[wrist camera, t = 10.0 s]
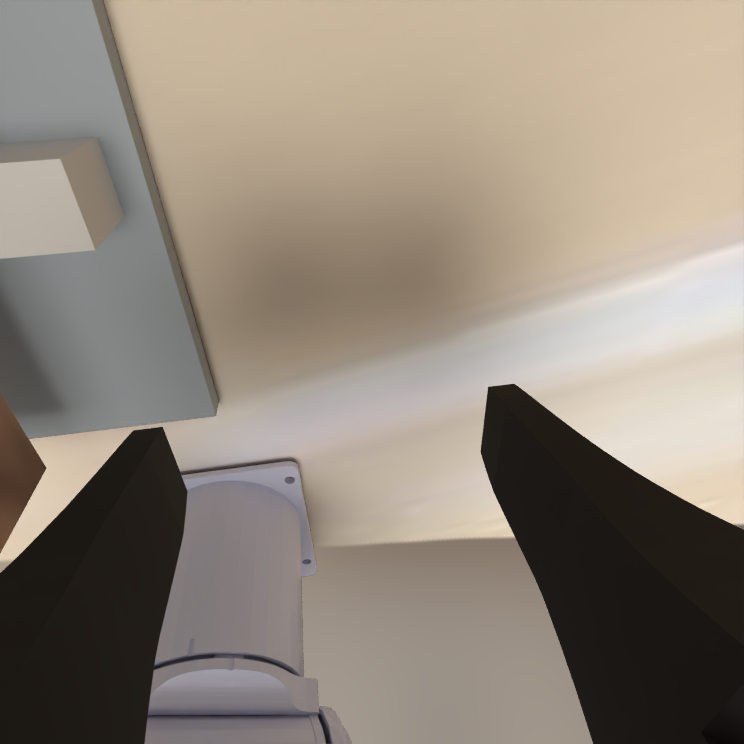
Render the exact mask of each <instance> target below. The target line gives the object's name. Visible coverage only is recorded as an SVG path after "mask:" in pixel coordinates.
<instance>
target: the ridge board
mask: <svg viewBox="0 0 744 744" xmlns="http://www.w3.org/2000/svg"><path fill="white" fill-rule="evenodd" d="M0 393H1V395H2V396H3V398H4V400H5V401H6V403H7V405H8V406H9V408H10V409H11V411H12V413H13V414H14V416H15V418H16V419H17V421H18V423H19V424H20V426H21V427H22V429H23V431H24V432H25V434H26V436H27V437H28V439H32V438H41V437H49V436H57V435H65V434H73V433H81V432H90V431H98V430H106V429H114V428H122V427H131V426H139V425H147V424H155V423H163V422H172V421H180V420H188V419H196V418H204V417H213V416H216V413H217V408H218V402H219V401H218V398H217V395H216V391H215V388H214V384H213V381H212V377H211V374H210V370H209V367H208V363H207V360H206V356H205V353H204V350H203V346H202V343H201V339H200V336H199V332H198V329H197V325H196V322H195V318H194V315H193V311H192V308H191V304H190V301H189V298H188V294H187V291H186V287H185V284H184V280H183V277H182V273H181V270H180V266H179V263H178V259H177V256H176V253H175V249H174V246H173V242H172V239H171V235H170V232H169V228H168V225H167V221H166V218H165V214H164V211H163V208H162V204H161V201H160V197H159V194H158V190H157V187H156V183H155V180H154V176H153V173H152V169H151V166H150V162H149V159H148V156H147V152H146V149H145V145H144V142H143V138H142V135H141V131H140V128H139V124H138V121H137V117H136V114H135V111H134V107H133V104H132V100H131V97H130V93H129V90H128V86H127V83H126V79H125V76H124V72H123V69H122V66H121V62H120V59H119V55H118V52H117V48H116V45H115V41H114V38H113V34H112V31H111V27H110V24H109V20H108V17H107V14H106V10H105V7H104V3H103V0H0Z"/></svg>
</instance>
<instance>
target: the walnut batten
mask: <svg viewBox="0 0 744 744" xmlns="http://www.w3.org/2000/svg"><path fill="white" fill-rule="evenodd" d="M45 470H46V467H45V465H44V463H43V462H42V460H41V458H40V457H39V455H38V454H37V452H36V450H35V449H34V447H33V445H32V444H31V442H30V441H29V439H28V437H27V436H26V434H25V432H24V431H23V429H22V427H21V426H20V424H19V423H18V421H17V419H16V418H15V416H14V414H13V413H12V411H11V409H10V408H9V406H8V405H7V403H6V401H5V400H4V398H3V396H2V395H1V393H0V553H1V551H2V549H3V547H4V545H5V543H6V542H7V540H8V538H9V536H10V534H11V532H12V531H13V529H14V527H15V525H16V523H17V521H18V520H19V518H20V516H21V514H22V512H23V510H24V508H25V507H26V505H27V503H28V501H29V499H30V497H31V496H32V494H33V492H34V490H35V488H36V486H37V484H38V483H39V481H40V479H41V477H42V475H43V473H44V472H45Z"/></svg>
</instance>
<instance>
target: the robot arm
mask: <svg viewBox="0 0 744 744" xmlns="http://www.w3.org/2000/svg"><path fill="white" fill-rule="evenodd" d="M481 455H482V458H483V461H484V464H485V468H486V471H487V474H488V477H489V480H490V483H491V485H492V488H493V491H494V493H495V496H496V498H497V500H498V502H499V504H500V506H501V508H502V511H503V513H504V515H505V517H506V519H507V521H508V523H509V525H510V527H511V529H512V531H513V534H514V536H515V538H516V540H517V542H518V544H519V546H520V548H521V550H522V552H523V554H524V556H525V558H526V561H527V563H528V565H529V567H530V569H531V571H532V573H533V575H534V577H535V579H536V582H537V584H538V586H539V589H540V591H541V593H542V595H543V598H544V601H545V603H546V606H547V609H548V611H549V614H550V617H551V620H552V623H553V625H554V628H555V631H556V633H557V636H558V639H559V642H560V644H561V647H562V650H563V653H564V656H565V659H566V662H567V665H568V668H569V671H570V673H571V676H572V679H573V682H574V685H575V688H576V691H577V694H578V698H579V700H580V704H581V707H582V710H583V713H584V716H585V719H586V722H587V726H588V729H589V732H590V735H591V738H592V741H593V744H744V530H743V529H741V528H739V527H737V526H735V525H733V524H731V523H729V522H726V521H724V520H722V519H720V518H718V517H716V516H714V515H712V514H710V513H708V512H706V511H704V510H702V509H700V508H698V507H696V506H695V505H693V504H691V503H689V502H687V501H685V500H683V499H681V498H680V497H678V496H676V495H674V494H673V493H671V492H669V491H667V490H666V489H664V488H662V487H660V486H659V485H657V484H655V483H653V482H652V481H650V480H648V479H647V478H645V477H643V476H642V475H640V474H638V473H637V472H635V471H634V470H632V469H630V468H629V467H627V466H626V465H624V464H623V463H621V462H620V461H618V460H617V459H615V458H614V457H612V456H611V455H609V454H608V453H606V452H605V451H603V450H602V449H600V448H599V447H598V446H596V445H595V444H593V443H592V442H590V441H589V440H588V439H586V438H585V437H583V436H582V435H581V434H579V433H578V432H577V431H575V430H574V429H573V428H571V427H570V426H569V425H567V424H566V423H565V422H563V421H562V420H561V419H559V418H558V417H557V416H555V415H554V414H553V413H552V412H550V411H549V410H548V409H546V408H545V407H544V406H543V405H541V404H540V403H539V402H537V401H536V400H535V399H534V398H532V397H531V396H530V395H528V394H527V393H526V392H525V391H523V390H522V389H521V388H519V387H518V386H517V385H515V384H509V385H501V386H493V387H488V394H487V402H486V411H485V419H484V428H483V436H482V445H481ZM287 477H292V478H287ZM316 572H317V564H316V559H315V554H314V548H313V543H312V537H311V532H310V526H309V521H308V516H307V510H306V505H305V500H304V494H303V489H302V483H301V478H300V473H299V467H298V465H297V464H296V463H295V462H292V461H285V462H277V463H270V464H262V465H255V466H247V467H239V468H232V469H224V470H217V471H209V472H201V473H194V474H186V475H181V473H180V471H179V468H178V466H177V463H176V460H175V458H174V455H173V453H172V450H171V447H170V445H169V442H168V440H167V437H166V435H165V432H164V429H163V427H159V428H151V429H142V430H134V431H133V432H132V433H131V434H130V435H129V436H128V437H127V438H126V439H125V440H124V442H123V443H122V444H121V445H120V446H119V447H118V448H117V450H116V451H115V452H114V453H113V454H112V455H111V457H110V458H109V459H108V460H107V461H106V462H105V464H104V465H103V466H102V467H101V468H100V469H99V470H98V472H97V473H96V474H95V475H94V476H93V477H92V479H91V480H90V481H89V482H88V483H87V484H86V485H85V486H84V488H83V489H82V490H81V491H80V492H79V493H78V494H77V495H76V497H75V498H74V499H73V500H72V501H71V502H70V503H69V504H68V505H67V507H66V508H65V509H64V510H63V511H62V512H61V513H60V514H59V515H58V516H57V517H56V518H55V519H54V520H53V521H52V522H51V523H50V524H49V525H48V526H47V527H46V528H45V529H44V530H43V531H42V533H41V534H40V535H39V536H38V537H37V538H36V539H35V540H34V541H33V542H32V543H31V544H30V545H29V546H28V547H27V548H26V549H25V550H24V551H23V552H22V553H21V554H20V555H19V556H18V557H17V558H16V559H15V560H14V561H13V562H12V563H11V564H10V565H9V566H7V567H6V568H5V570H3V571H2V572H1V573H0V744H352V742H351V739H350V737H349V735H348V733H347V731H346V729H345V728H344V726H343V725H342V723H341V721H340V719H339V717H338V716H337V714H336V712H335V711H334V710H333V709H331V708H329V707H325V706H319V703H318V681H317V679H315V678H305V677H304V660H303V620H302V585H301V584H302V583H301V582H302V581H301V577H307V576H311V575H314V574H315V573H316Z"/></svg>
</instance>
